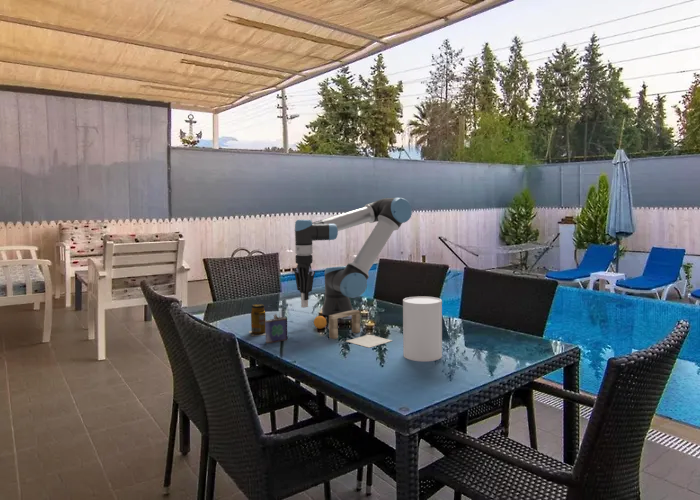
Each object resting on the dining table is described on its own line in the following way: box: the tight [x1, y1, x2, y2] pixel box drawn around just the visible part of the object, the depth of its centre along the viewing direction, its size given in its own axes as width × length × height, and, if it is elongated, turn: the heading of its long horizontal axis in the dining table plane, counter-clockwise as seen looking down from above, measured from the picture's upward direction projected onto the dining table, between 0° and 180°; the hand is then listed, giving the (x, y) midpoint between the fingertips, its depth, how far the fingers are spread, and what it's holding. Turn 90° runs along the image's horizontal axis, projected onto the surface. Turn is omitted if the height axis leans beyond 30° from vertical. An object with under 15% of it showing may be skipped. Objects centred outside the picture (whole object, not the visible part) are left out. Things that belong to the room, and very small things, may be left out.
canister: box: [402, 295, 443, 362], centre depth 184 cm, size 14×14×20 cm
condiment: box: [248, 303, 267, 337], centre depth 220 cm, size 7×8×12 cm
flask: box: [265, 313, 288, 344], centre depth 207 cm, size 9×3×11 cm, turn 121°
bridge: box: [328, 309, 361, 340], centre depth 215 cm, size 3×14×9 cm, turn 133°
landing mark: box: [345, 334, 393, 349], centre depth 205 cm, size 13×13×1 cm
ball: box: [313, 315, 327, 330], centre depth 226 cm, size 6×6×6 cm
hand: (304, 306), depth 233 cm, fingers closed
